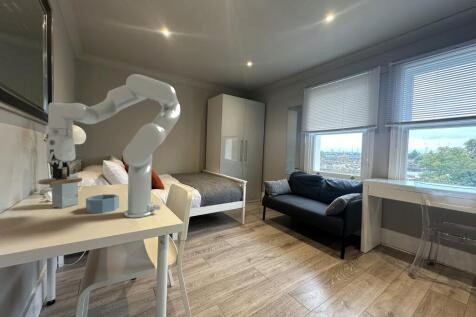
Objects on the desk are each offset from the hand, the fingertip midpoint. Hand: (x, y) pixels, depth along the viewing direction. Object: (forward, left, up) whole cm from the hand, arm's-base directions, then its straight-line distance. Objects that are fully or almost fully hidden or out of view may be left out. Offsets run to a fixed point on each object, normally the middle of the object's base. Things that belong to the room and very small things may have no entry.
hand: (61, 177), depth 83 cm
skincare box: (+10, -19, -17) cm, 28 cm away
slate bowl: (-11, -11, -17) cm, 23 cm away
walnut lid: (0, 0, -2) cm, 2 cm away
